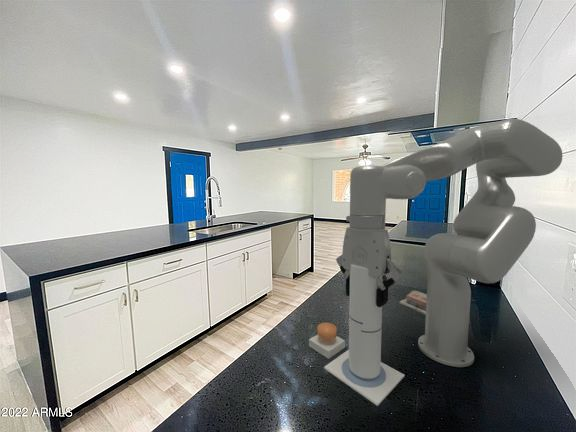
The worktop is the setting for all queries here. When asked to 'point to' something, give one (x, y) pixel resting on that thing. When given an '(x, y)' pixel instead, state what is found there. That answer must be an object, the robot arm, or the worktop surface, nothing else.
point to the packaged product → (415, 301)
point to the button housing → (327, 345)
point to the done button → (327, 331)
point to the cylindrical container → (364, 324)
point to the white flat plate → (368, 388)
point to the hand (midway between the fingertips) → (365, 298)
